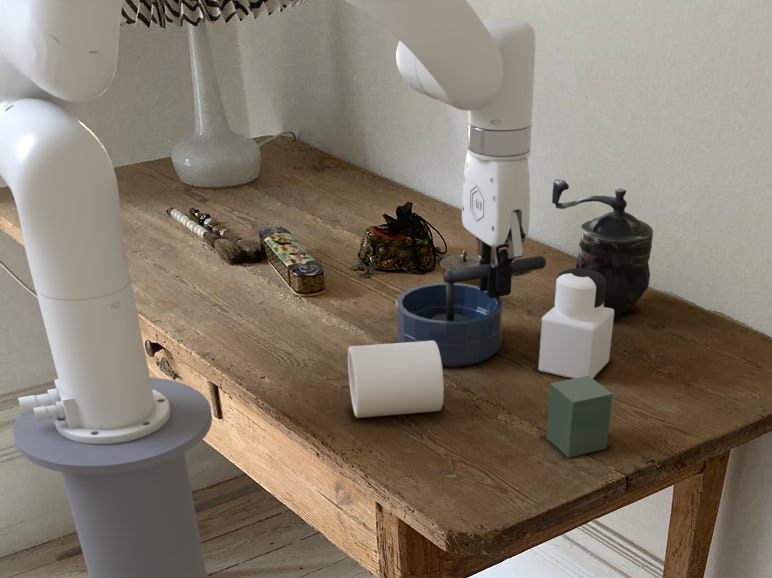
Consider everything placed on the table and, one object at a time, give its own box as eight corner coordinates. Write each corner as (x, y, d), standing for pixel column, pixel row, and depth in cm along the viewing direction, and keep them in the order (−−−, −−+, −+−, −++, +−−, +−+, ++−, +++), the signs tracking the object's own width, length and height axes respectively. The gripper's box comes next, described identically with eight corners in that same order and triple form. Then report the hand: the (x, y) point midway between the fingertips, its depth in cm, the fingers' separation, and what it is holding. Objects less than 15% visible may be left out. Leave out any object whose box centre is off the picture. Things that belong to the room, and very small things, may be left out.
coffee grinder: (530, 303, 148) (537, 170, 136) (620, 290, 152) (635, 161, 141) (569, 337, 139) (581, 198, 127) (664, 323, 143) (683, 187, 132)
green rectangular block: (568, 457, 114) (573, 402, 109) (546, 437, 117) (550, 383, 113) (606, 448, 115) (612, 393, 111) (583, 429, 119) (588, 375, 115)
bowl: (423, 376, 129) (422, 330, 125) (381, 335, 138) (380, 291, 134) (518, 357, 133) (521, 312, 130) (472, 319, 143) (473, 276, 139)
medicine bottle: (558, 350, 135) (565, 259, 128) (609, 362, 133) (619, 269, 125) (537, 371, 130) (543, 277, 123) (589, 383, 128) (598, 288, 120)
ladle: (440, 344, 132) (440, 279, 127) (425, 330, 135) (423, 266, 130) (551, 323, 138) (555, 261, 133) (533, 310, 141) (536, 249, 136)
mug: (444, 422, 119) (444, 357, 114) (358, 430, 117) (354, 364, 112) (425, 378, 128) (424, 316, 123) (345, 384, 126) (341, 321, 121)
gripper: (442, 127, 126) (443, 276, 138) (501, 160, 116) (496, 319, 127) (497, 121, 129) (492, 268, 141) (559, 153, 118) (549, 309, 130)
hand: (494, 291), depth 134 cm, fingers closed on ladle
